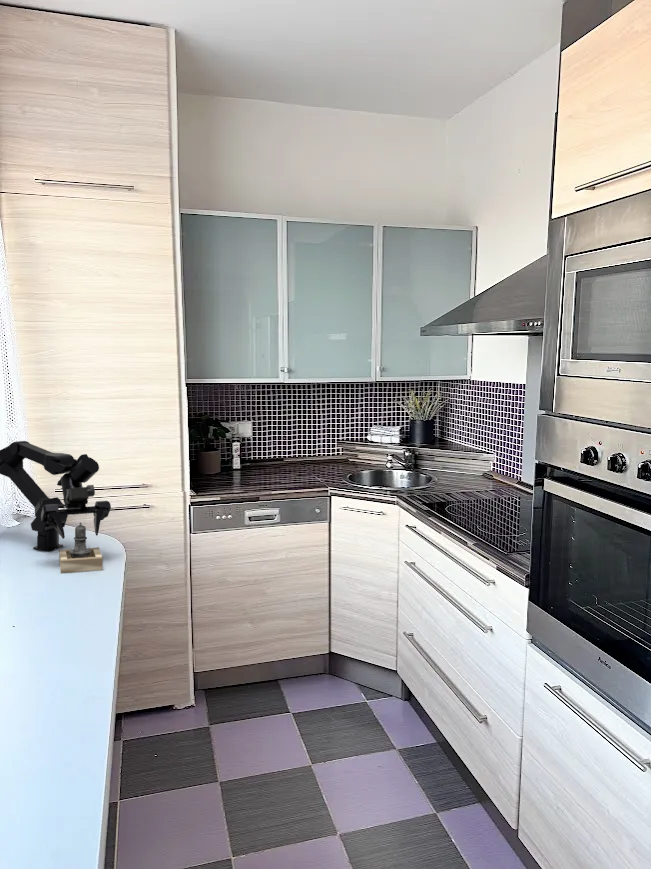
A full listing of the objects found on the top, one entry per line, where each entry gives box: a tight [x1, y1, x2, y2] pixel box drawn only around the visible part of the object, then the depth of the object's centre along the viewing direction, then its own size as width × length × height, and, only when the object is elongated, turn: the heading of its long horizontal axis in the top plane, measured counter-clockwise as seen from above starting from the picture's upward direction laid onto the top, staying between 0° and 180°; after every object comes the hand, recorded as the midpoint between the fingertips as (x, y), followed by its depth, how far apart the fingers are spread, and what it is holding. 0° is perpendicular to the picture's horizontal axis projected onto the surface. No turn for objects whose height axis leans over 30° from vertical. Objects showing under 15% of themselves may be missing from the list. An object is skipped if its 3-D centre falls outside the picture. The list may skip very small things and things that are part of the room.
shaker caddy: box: [58, 547, 104, 574], centre depth 190 cm, size 11×11×4 cm
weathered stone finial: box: [69, 522, 91, 558], centre depth 190 cm, size 6×6×12 cm
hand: (80, 536), depth 189 cm, fingers open, 9 cm apart
